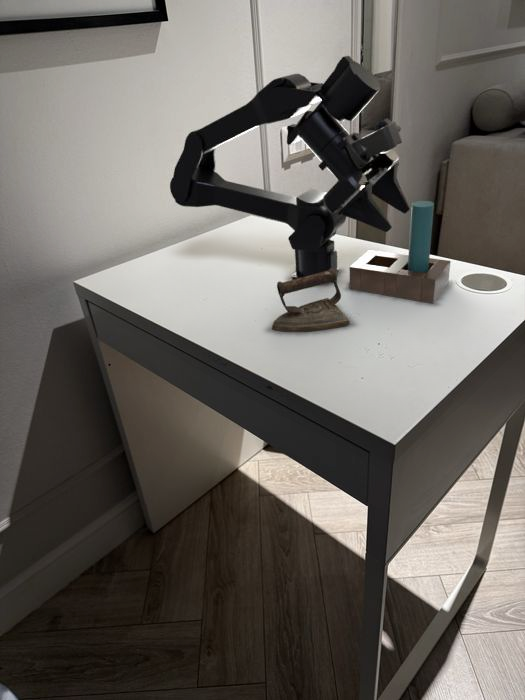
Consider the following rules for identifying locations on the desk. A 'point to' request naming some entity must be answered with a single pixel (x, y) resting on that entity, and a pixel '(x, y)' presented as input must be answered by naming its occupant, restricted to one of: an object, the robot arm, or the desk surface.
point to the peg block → (398, 276)
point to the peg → (420, 236)
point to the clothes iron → (310, 306)
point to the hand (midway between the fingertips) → (398, 220)
